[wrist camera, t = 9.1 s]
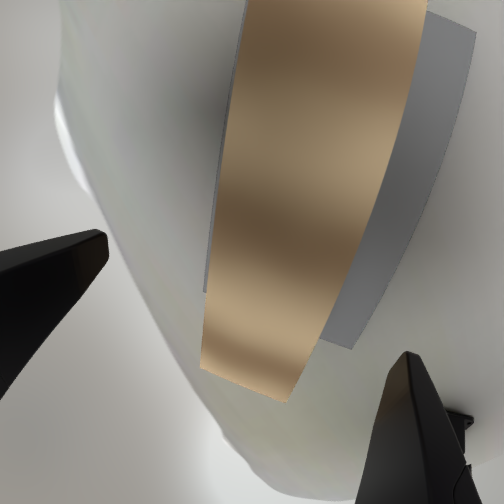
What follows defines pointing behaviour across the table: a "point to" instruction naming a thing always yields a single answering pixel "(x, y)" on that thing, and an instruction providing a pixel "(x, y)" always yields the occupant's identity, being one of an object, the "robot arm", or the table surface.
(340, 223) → the oak plank
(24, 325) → the robot arm
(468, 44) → the peg board
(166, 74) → the table surface
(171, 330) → the table surface
